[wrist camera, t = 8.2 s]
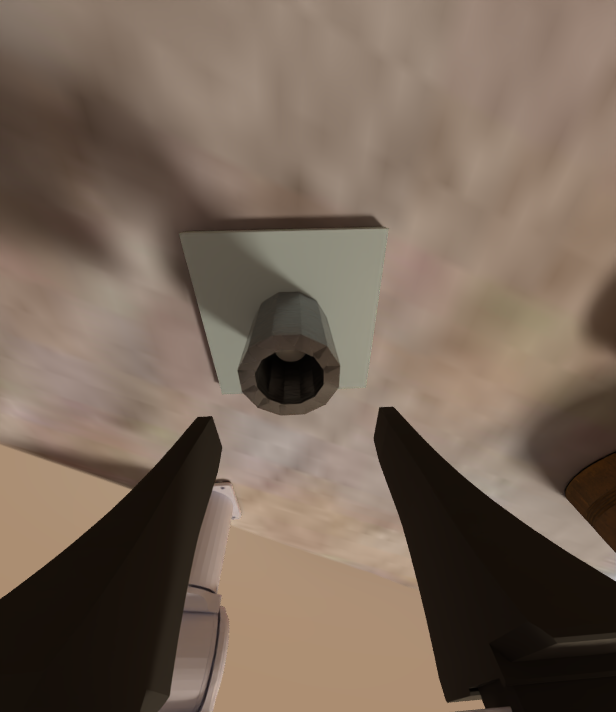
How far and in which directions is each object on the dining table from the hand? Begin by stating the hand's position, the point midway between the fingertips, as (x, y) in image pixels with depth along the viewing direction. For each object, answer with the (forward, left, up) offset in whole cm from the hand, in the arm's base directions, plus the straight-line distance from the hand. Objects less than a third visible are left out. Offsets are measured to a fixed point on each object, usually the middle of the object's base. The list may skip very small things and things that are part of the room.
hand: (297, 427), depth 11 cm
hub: (0, +1, -8) cm, 8 cm away
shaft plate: (0, +1, -9) cm, 9 cm away
